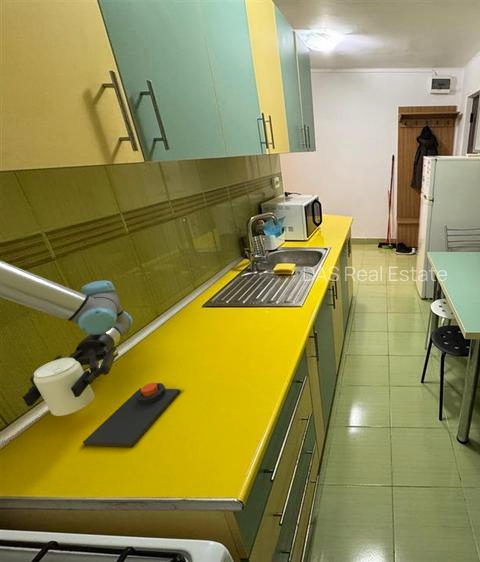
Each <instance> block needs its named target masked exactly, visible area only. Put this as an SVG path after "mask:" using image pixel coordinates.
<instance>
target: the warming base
mask: <svg viewBox="0 0 480 562" xmlns="http://www.w3.org/2000/svg"><path fill="white" fill-rule="evenodd" d="M155 383H156V384H157V387H158V391H157V392H156V393H155V394H153V395H151V396H147V397H145V396H143V394H142V392H141V388H142V387H140V388H138V389H137V390H136V391H135V392H134V393H132V395H131V396H130V397H129V398H128V399H126V401H124V403H122V404H121V405H120V406H119V407H118V408H117V409H116V410H115V411H114V412H113V413H112V414H111V415H110V416H108V418H107V419H106V420H104V421H103V422H102V423H101V424H100V425H99V426H98V427H97V428H96V429H95V430H93V431H92V432H91V434H90V435H88V436H87V437H86V438H85V439H84V440H83V441H82V443H83V445H84V446H89V447H90V446H91V447H92V446H95V447H124V448H127V447H128V448H133V447H134V446H135V445H136V444H137V442H138V441H139V440H140V439H141V438H142V437H143V436H144V435H145V433H146V432H147V431H148V430H149V429H150V427H151V426H152V425H154V423H155V422H156V421H157V420H158V418H160V416H162V414H163V413H164V412H165V410H166V409H168V407H169V406H170V405H171V404H172V402H174V401H175V399H176V398H177V397H178V395H180V394H181V389H180V388H166V386H165V385H164V384H163V383H162V382H155Z"/></svg>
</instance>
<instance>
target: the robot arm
mask: <svg viewBox="0 0 480 562" xmlns="http://www.w3.org/2000/svg"><path fill="white" fill-rule="evenodd" d="M89 283H90V284H89ZM89 283H87V285H86V284H84V285H85V286H84V285H83V286H82V287H81V288H82V289H80V290H82V291H81V292H79V291H77V290H74V289H73V288H69V287H67V286H65V285H62V284H60V283H57V282H55V281H52V280H50V279H48V278H45V277H42V276H40V275H37V274H35V273H32V272H30V271H28V270H25V269H22V268H20V267H18V266H15V265H13V264H11V263H8V262H5V261H3V260H0V298H2V299H4V300H8V301H10V302H13V303H16V304H19V305H22V306H25V307H28V308H31V309H34V310H37V311H39V312H43V313H46V314H48V315H51V316H55V317H57V318H60V319H62V320H65V321H68V322H72V323H74V324H77V325H78V327H79V329H80V330H81V331H82V332H83V333H85V334H87V335H86V336H85V337H84V338H83V339H82V340H81V341H80V342H79V343H78V344H77V346H76V349H75V351H74V352H72V353H70V354H69V355H68V356H62V355H57V356H55V358H53V360H52V361H55V360H58V359H63V358H74V359H75V360H76V361H78V362H79V363H80V365H81V367H82V366H89V367H88V369H89V370H85V371H84V373H83V375H82V376H81V377H80V378H79V379H78V380H77V382H76V383H75V384H74V385H73V386H72V388H71V390H72V392H73V394H74V396H75V397H79V396H80V395H81V394H82V392H83V391H84V390H85V388H86V387H87V386H88V385H89V384H90V385H91V384H93V383H94V382H95V380H96V379H97V378H99V377H100V376H101V375H103V376H106V375H108V374H109V373H110V372H111V369H112V367H113V364H114V361H115V359H116V358H117V357H118V356H119V355H120V354H119V352H118V349H117V347H116V346H117V345H118V343H119V342H120V341H121V340H122V339H123V337H124V336H125V335H126V334H127V333H128V332H129V331H130V328H131V327H132V325H133V321H134V319H133V317H132V316H131V314H129V313H128V312H127V311H124V310H123V308H122V305H121V303H120V302H121V301H120V300H119V299H120V298H119V296H118V293H117V289H116V288H115V286H114V284H113V282H111V281H110V280H97V281H92V282H89ZM82 293H83V294H82ZM100 361H101V364H100ZM33 379H34V375H32V376H31V377H29V381H30V383H31V385H32V386H31V387H29V388H28V391H27V392H26V393H25V394H24V395H23V396H22V400H23V401H24V403H25V404H26V406H27V407H33V405H34V404H36V402H37V401H38V400H39V399H40V398H41V397H42V395H41V394H40V392H39V390H38V388H37V386H36V384H35V383H34V380H33Z"/></svg>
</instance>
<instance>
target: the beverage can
mask: <svg viewBox="0 0 480 562" xmlns="http://www.w3.org/2000/svg"><path fill="white" fill-rule="evenodd" d="M84 372H85V371H84V369H83V367H82V366H81V365H80V363H79V362H78V361H76V360H75V359H74V358H63V359H58V360H55V361H53V360H52V361H49V362H47V363H45V364H43V365H41V366H40V367H38V368H37V369H36V370H35V371H34V373H33V376H34V379H33V380H34V383H35V384H36V386H37V388H38V390H39V392H40V394H41V395H42V396H41V397H42V399H43V400H44V403H45V405H46V406H47V408H48V410H49V412H50V413H51V415H53V416H55V417H62V416H67V415H71V414H73V413H76V412H78V411H80V410H82V409H84V408H85V407H87V406H89V404H91V403H92V402H93V400H94V398H95V392H94V391H93V388H92V386H91V384H89V385H88V386H87V387H86V388H85V390H84V391H83V392H82V394H81V395H80V396H79V397H75V396H74V394H73V392H72V390H71V388H72V386H73V385H74V384H75V383H76V382H77V380H78V379H79V378H80V377H81V376H82V375H83V373H84Z"/></svg>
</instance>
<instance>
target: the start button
mask: <svg viewBox="0 0 480 562" xmlns="http://www.w3.org/2000/svg"><path fill="white" fill-rule="evenodd" d="M156 383H157V382H149V383H147V384H145V385H143V386H142V387H140V388H141V392H142V394H143V396H145V397H147V396H151V395H153V394H155V393H156V392H157V391H158V387H157V384H156Z"/></svg>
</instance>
